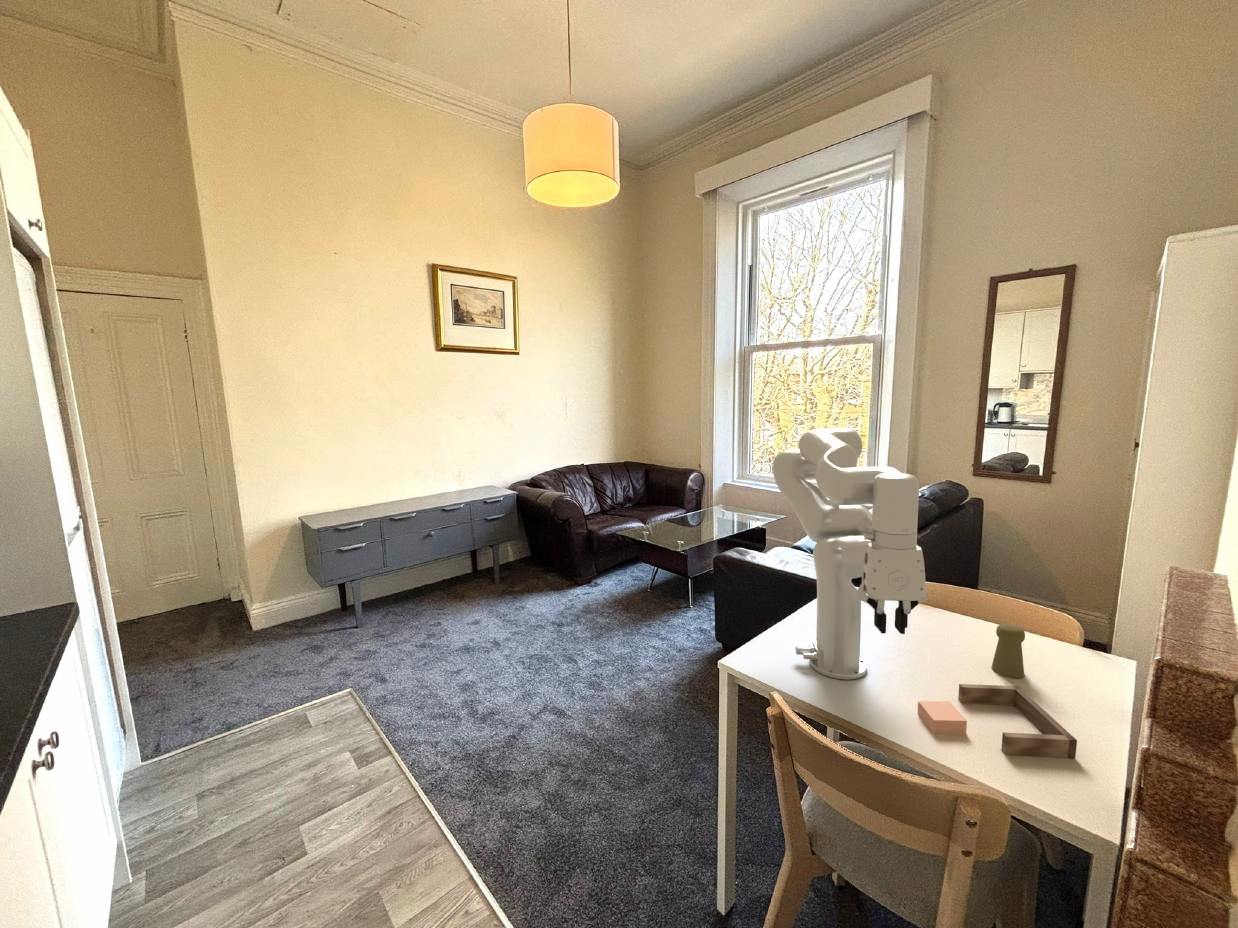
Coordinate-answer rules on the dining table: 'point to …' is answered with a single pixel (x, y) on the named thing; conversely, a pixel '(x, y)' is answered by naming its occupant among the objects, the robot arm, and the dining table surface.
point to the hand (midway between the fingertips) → (890, 629)
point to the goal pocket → (1042, 745)
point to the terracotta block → (942, 717)
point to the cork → (1009, 651)
